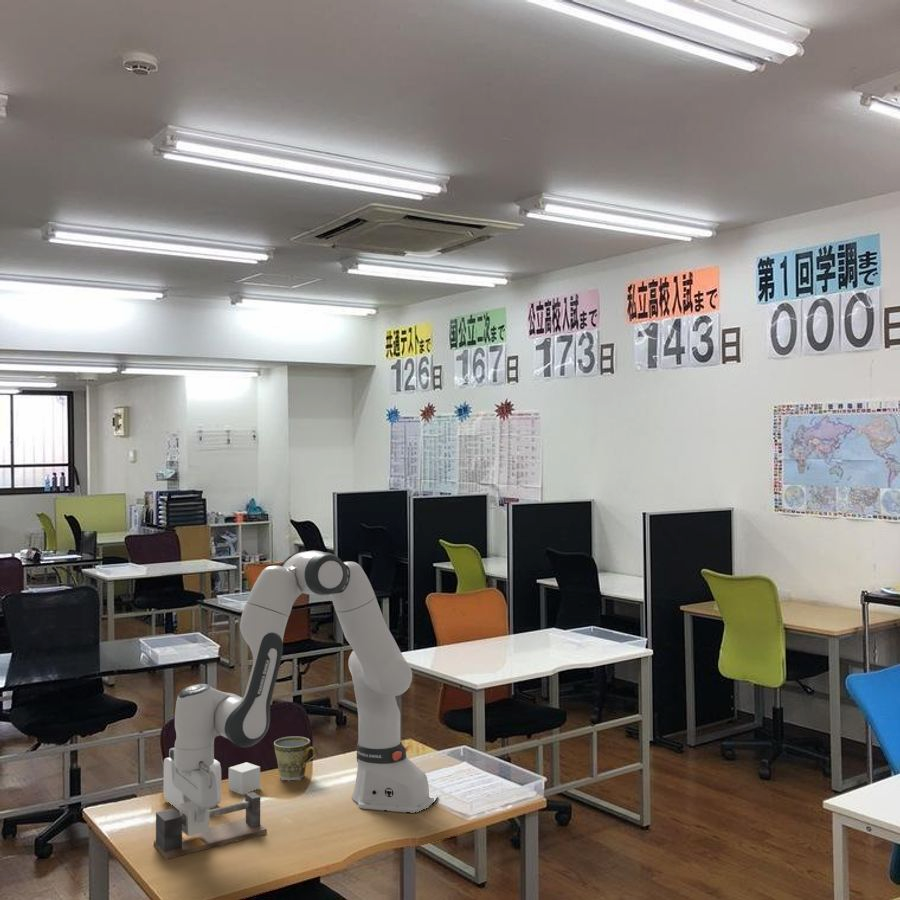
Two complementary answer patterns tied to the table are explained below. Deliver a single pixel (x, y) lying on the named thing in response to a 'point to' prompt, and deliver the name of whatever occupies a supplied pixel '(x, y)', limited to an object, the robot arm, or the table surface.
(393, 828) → the table surface
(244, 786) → the light gray cube
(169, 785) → the cable organizer
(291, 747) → the ceramic cup
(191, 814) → the white cube
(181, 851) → the rail
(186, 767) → the robot arm
